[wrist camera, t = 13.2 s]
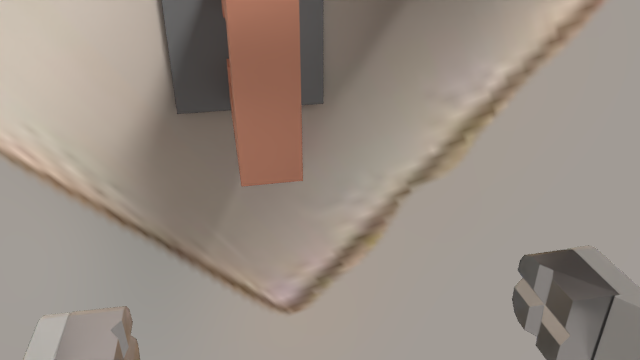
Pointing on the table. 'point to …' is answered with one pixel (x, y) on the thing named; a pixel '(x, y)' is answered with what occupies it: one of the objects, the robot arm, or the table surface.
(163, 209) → the table surface
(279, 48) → the link
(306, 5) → the coaster
